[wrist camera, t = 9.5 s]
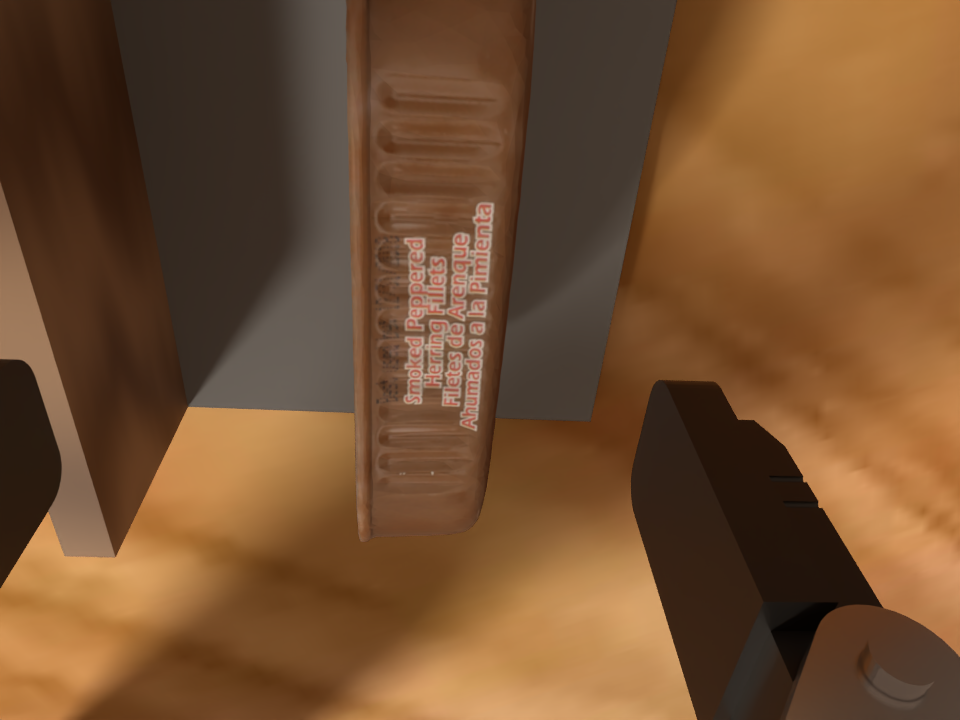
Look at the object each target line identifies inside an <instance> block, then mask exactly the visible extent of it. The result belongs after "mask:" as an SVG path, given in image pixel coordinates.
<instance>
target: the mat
mask: <svg viewBox="0 0 960 720" xmlns="http://www.w3.org/2000/svg"><path fill="white" fill-rule="evenodd" d="M676 2H677V0H536V16H535V34H534V51H533V65H532V80H531V95H530V105H529V114H528V123H527V132H526V143H525V154H524V164H523V174H522V184H521V198H520V205H519V213H518V220H517V232H516V243H515V254H514V264H513V272H512V281H511V289H510V298H509V307H508V317H507V326H506V335H505V344H504V353H503V361H502V368H501V375H500V387H499V395H498V402H497V409H496V417H495V418H508V419H536V420H563V421H590V422H591V417H592V412H593V407H594V402H595V397H596V392H597V387H598V383H599V378H600V373H601V368H602V363H603V358H604V353H605V348H606V343H607V339H608V334H609V329H610V324H611V319H612V314H613V309H614V304H615V300H616V295H617V290H618V285H619V280H620V275H621V270H622V265H623V261H624V256H625V251H626V246H627V241H628V236H629V231H630V226H631V222H632V217H633V212H634V207H635V202H636V197H637V192H638V187H639V183H640V178H641V173H642V168H643V163H644V158H645V153H646V148H647V144H648V139H649V134H650V129H651V124H652V119H653V114H654V109H655V105H656V100H657V95H658V90H659V85H660V80H661V75H662V70H663V65H664V61H665V56H666V51H667V46H668V41H669V36H670V31H671V26H672V22H673V17H674V12H675V7H676ZM111 6H112V11H113V16H114V21H115V27H116V32H117V37H118V42H119V48H120V53H121V58H122V63H123V69H124V74H125V79H126V84H127V90H128V95H129V100H130V105H131V110H132V116H133V121H134V126H135V131H136V137H137V142H138V147H139V152H140V158H141V163H142V168H143V173H144V179H145V184H146V189H147V194H148V200H149V205H150V210H151V215H152V221H153V226H154V231H155V236H156V242H157V247H158V252H159V257H160V263H161V268H162V273H163V278H164V284H165V289H166V294H167V299H168V305H169V310H170V315H171V320H172V326H173V331H174V336H175V341H176V347H177V352H178V357H179V362H180V368H181V373H182V378H183V383H184V389H185V394H186V399H187V404H188V407H209V408H237V409H264V410H291V411H318V412H345V413H355V412H354V366H353V311H352V278H351V254H350V202H349V150H348V125H347V62H346V9H347V7H346V0H111Z"/></svg>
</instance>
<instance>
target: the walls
mask: <svg viewBox="0 0 960 720" xmlns="http://www.w3.org/2000/svg"><path fill="white" fill-rule="evenodd" d="M0 359H17V360H22V361H25V362H26V363H27V364H28V365H29V366H30V367H31V369H32V370H33V372H34V375H35V377H36V380H37V383H38V387H39V390H40V393H41V396H42V399H43V402H44V405H45V408H46V411H47V414H48V417H49V420H50V423H51V427H52V430H53V433H54V436H55V439H56V442H57V445H58V448H59V451H60V455H61V462H62V474H61V482H60V486H59V490H58V493H57V496H56V498H55V500H54V502H53V504H52V506H51V507H50V509H49V511H48V512H49V514H50V517H51V520H52V523H53V525H54V528H55V531H56V534H57V536H58V539H59V542H60V545H61V547H62V550H63V553H64V556H75V557H116V555H117V553H118V551H119V549H120V547H121V545H122V543H123V541H124V539H125V537H126V534H127V532H128V530H129V528H130V526H131V524H132V522H133V520H134V518H135V516H136V514H137V512H138V509H139V507H140V505H141V503H142V501H143V499H144V497H145V495H146V493H147V491H148V489H149V487H150V485H151V482H152V480H153V478H154V476H155V474H156V472H157V470H158V468H159V466H160V464H161V462H162V460H163V458H164V455H165V453H166V451H167V449H168V447H169V445H170V443H171V441H172V439H173V437H174V435H175V433H176V431H177V428H178V426H179V424H180V422H181V420H182V418H183V416H184V414H185V412H186V410H187V408H188V404H187V399H186V394H185V389H184V383H183V378H182V373H181V368H180V362H179V357H178V352H177V347H176V341H175V336H174V331H173V326H172V320H171V315H170V310H169V305H168V299H167V294H166V289H165V284H164V278H163V273H162V268H161V263H160V257H159V252H158V247H157V242H156V236H155V231H154V226H153V221H152V215H151V210H150V205H149V200H148V194H147V189H146V184H145V179H144V173H143V168H142V163H141V158H140V152H139V147H138V142H137V137H136V131H135V126H134V121H133V116H132V110H131V105H130V100H129V95H128V90H127V84H126V79H125V74H124V69H123V63H122V58H121V53H120V48H119V42H118V37H117V32H116V27H115V21H114V16H113V11H112V6H111V0H0Z"/></svg>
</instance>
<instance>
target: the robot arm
mask: <svg viewBox="0 0 960 720" xmlns="http://www.w3.org/2000/svg"><path fill="white" fill-rule="evenodd" d="M61 474H62V462H61V455H60V451H59V448H58V445H57V442H56V439H55V436H54V433H53V430H52V427H51V423H50V420H49V417H48V414H47V411H46V408H45V405H44V402H43V399H42V396H41V393H40V390H39V387H38V383H37V380H36V377H35V375H34V372H33V370H32V369H31V367H30V366H29V365H28V364H27V363H26V362H25V361H22V360H17V359H0V588H1V586H2V585H3V583H4V582H5V580H6V578H7V577H8V575H9V574H10V572H11V570H12V569H13V567H14V565H15V564H16V562H17V561H18V559H19V557H20V556H21V554H22V553H23V551H24V549H25V548H26V546H27V544H28V543H29V541H30V540H31V538H32V536H33V535H34V533H35V532H36V530H37V528H38V527H39V525H40V523H41V522H42V520H43V519H44V517H45V515H46V514H47V512H48V511H49V509H50V507H51V506H52V504H53V502H54V500H55V498H56V496H57V493H58V490H59V486H60V482H61ZM631 497H632V505H633V511H634V514H635V518H636V521H637V524H638V528H639V531H640V534H641V537H642V541H643V544H644V547H645V550H646V554H647V557H648V560H649V563H650V567H651V570H652V573H653V577H654V580H655V583H656V586H657V590H658V593H659V596H660V599H661V603H662V606H663V609H664V612H665V616H666V619H667V622H668V625H669V629H670V632H671V635H672V639H673V642H674V645H675V648H676V652H677V655H678V658H679V661H680V665H681V668H682V671H683V674H684V678H685V681H686V684H687V687H688V691H689V694H690V697H691V701H692V704H693V707H694V710H695V714H696V717H697V720H960V657H959V656H958V655H957V654H956V652H955V651H954V650H953V649H952V648H951V647H949V646H948V645H947V644H946V643H945V642H944V641H943V640H942V639H941V638H939V637H938V636H937V635H936V634H934V633H933V632H932V631H930V630H929V629H927V628H926V627H924V626H923V625H921V624H920V623H918V622H916V621H914V620H912V619H910V618H908V617H906V616H904V615H902V614H899V613H897V612H894V611H891V610H888V609H885V608H883V607H882V605H881V604H880V602H879V600H878V599H877V597H876V595H875V594H874V592H873V590H872V589H871V587H870V585H869V584H868V582H867V581H866V579H865V577H864V576H863V574H862V572H861V571H860V569H859V567H858V566H857V564H856V562H855V561H854V559H853V558H852V556H851V554H850V553H849V551H848V549H847V548H846V546H845V544H844V543H843V541H842V539H841V538H840V536H839V535H838V533H837V531H836V530H835V528H834V526H833V525H832V523H831V521H830V520H829V518H828V516H827V515H826V513H825V511H824V510H823V508H819V507H818V500H817V498H816V497H815V495H814V493H813V492H812V490H811V488H810V487H809V485H808V484H807V482H803V475H802V474H801V472H800V470H799V469H798V467H797V465H796V464H795V462H794V461H793V459H792V457H791V456H790V454H789V452H788V451H787V449H786V447H785V446H784V445H783V444H781V443H780V442H779V441H778V440H777V439H776V438H774V437H773V436H772V435H771V434H770V433H768V432H767V431H766V430H765V429H764V428H763V427H761V426H760V425H759V424H758V423H757V422H755V421H754V420H738V419H737V417H736V415H735V414H734V412H733V410H732V408H731V406H730V404H729V403H728V401H727V399H726V397H725V395H724V394H723V392H722V390H721V388H720V387H719V385H718V384H717V383H715V382H703V381H670V380H659V381H657V382H656V383H655V384H654V386H653V388H652V391H651V394H650V397H649V402H648V406H647V410H646V414H645V418H644V422H643V426H642V431H641V435H640V439H639V443H638V447H637V451H636V455H635V459H634V464H633V468H632V476H631Z"/></svg>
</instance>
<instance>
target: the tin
mask: <svg viewBox="0 0 960 720" xmlns="http://www.w3.org/2000/svg"><path fill="white" fill-rule="evenodd" d="M346 7H347V9H346V62H347V125H348V150H349V202H350V254H351V278H352V311H353V366H354V412H355V441H356V442H355V457H356V506H357V521H358V535H359V538H360V541H362V542H366V541H369V540H370V539H372V538H374V537H397V536H432V535H449V534H455V533H460V532H464V531H467V530H469V529H470V528H471V527H472V526H473V525H474V524H475V522H476V521H477V520H478V517H479V515H480V512H481V508H482V505H483V500H484V496H485V492H486V486H487V480H488V473H489V466H490V459H491V450H492V441H493V434H494V427H495V417H496V409H497V402H498V395H499V387H500V375H501V368H502V361H503V353H504V344H505V335H506V326H507V317H508V307H509V298H510V289H511V281H512V272H513V264H514V254H515V243H516V232H517V220H518V213H519V205H520V198H521V184H522V174H523V164H524V154H525V143H526V132H527V123H528V114H529V105H530V95H531V80H532V65H533V51H534V34H535V16H536V0H346Z"/></svg>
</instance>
